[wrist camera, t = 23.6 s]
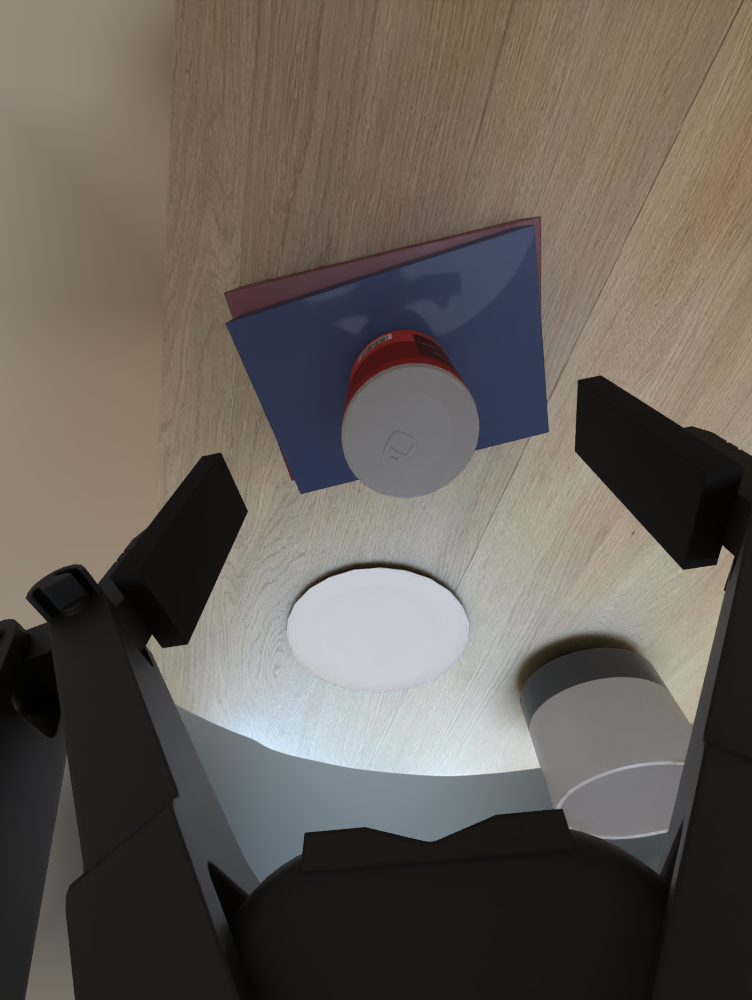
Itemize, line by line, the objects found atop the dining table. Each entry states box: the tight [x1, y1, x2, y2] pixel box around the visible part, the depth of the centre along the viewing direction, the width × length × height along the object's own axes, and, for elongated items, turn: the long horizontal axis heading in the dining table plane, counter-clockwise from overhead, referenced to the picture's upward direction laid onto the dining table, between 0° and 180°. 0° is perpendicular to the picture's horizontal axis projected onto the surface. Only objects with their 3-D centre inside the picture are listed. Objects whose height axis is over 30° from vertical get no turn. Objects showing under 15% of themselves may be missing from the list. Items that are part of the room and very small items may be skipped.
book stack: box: [224, 217, 549, 494], centre depth 36 cm, size 17×24×8 cm
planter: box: [520, 648, 693, 839], centre depth 57 cm, size 19×19×18 cm
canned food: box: [341, 330, 479, 498], centre depth 28 cm, size 8×8×11 cm
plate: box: [287, 567, 469, 692], centre depth 58 cm, size 25×25×2 cm
